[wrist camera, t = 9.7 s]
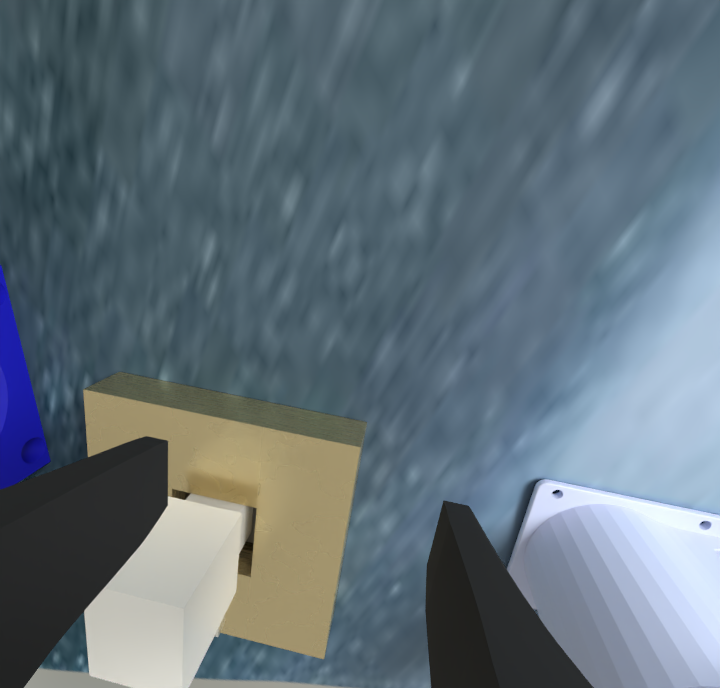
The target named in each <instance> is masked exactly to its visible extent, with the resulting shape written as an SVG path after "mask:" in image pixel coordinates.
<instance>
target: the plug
mask: <svg viewBox="0 0 720 688" xmlns="http://www.w3.org/2000/svg"><path fill="white" fill-rule="evenodd" d="M252 517H253V507H249V506H245V505H241V504H236V503H232V502H227V501H223V500H219V499H214V498H210V497H206V496H201V495H197V494H192V493H191V494H190V495H189V496H188V498H187V499H186V500H182V499H178V498H174V497H169V496H168V506H167V507H166V509H165V511H164V512H163V514H162V515H161V517H160V518H159V520H158V521H157V523H156V524H155V526H154V527H153V529H152V530H151V532H150V533H149V534H148V536H147V537H146V539H145V540H144V542H143V543H142V544H141V545H140V546H139V548H138V549H137V550H136V551H135V552H134V554H133V555H132V556H131V557H130V558H129V559H128V561H127V562H126V563H125V564H124V565H123V567H122V568H121V569H120V570H119V571H118V572H117V574H116V575H115V576H114V577H113V578H112V579H111V580H110V582H109V583H108V584H107V585H106V586H105V587H104V589H103V590H102V591H101V592H100V593H99V594H98V595H97V597H96V598H95V599H94V600H93V601H92V602H91V604H90V605H89V606H88V607H87V608H86V609H85V611H84V614H85V626H86V638H87V650H88V662H89V675H90V676H92V677H95V678H99V679H103V680H106V681H110V682H114V683H117V684H121V685H124V686H128V687H132V688H189V686H190V684H191V682H192V680H193V678H194V676H195V674H196V672H197V670H198V668H199V666H200V664H201V662H202V660H203V658H204V656H205V654H206V652H207V650H208V648H209V646H210V644H211V642H212V640H213V638H214V636H215V634H216V632H217V630H218V627H219V625H220V623H221V621H222V619H223V617H224V615H225V613H226V611H227V609H228V607H229V605H230V603H231V601H232V599H233V597H234V595H235V593H236V588H237V574H238V560H239V553H240V552H241V550H242V548H243V546H244V544H245V542H246V540H247V539H248V537H249V535H250V533H251V529H252Z"/></svg>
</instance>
